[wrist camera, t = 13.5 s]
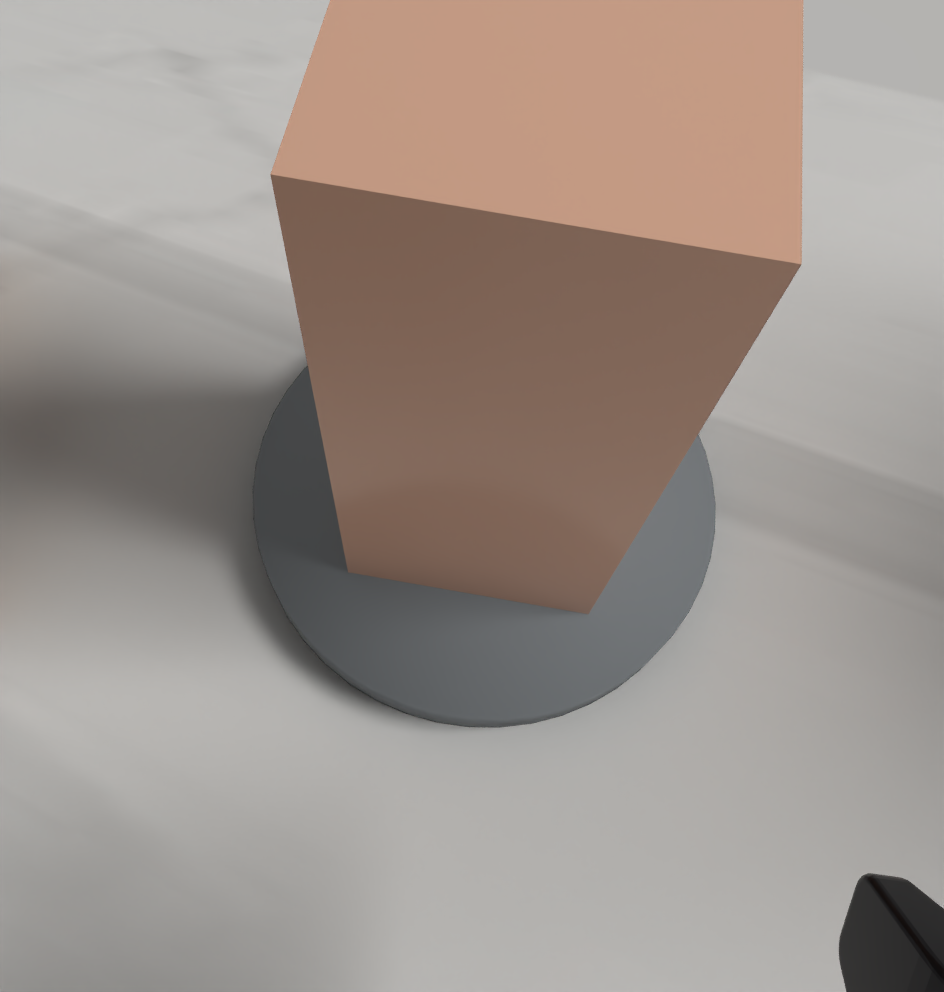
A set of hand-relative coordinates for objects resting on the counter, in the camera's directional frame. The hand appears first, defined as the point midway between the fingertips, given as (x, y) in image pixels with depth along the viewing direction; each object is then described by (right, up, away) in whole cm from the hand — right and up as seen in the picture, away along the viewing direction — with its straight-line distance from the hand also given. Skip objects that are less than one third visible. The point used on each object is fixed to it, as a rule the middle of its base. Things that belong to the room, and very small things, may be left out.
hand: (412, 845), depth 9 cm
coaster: (+1, +3, +11) cm, 12 cm away
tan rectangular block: (+1, +4, +10) cm, 11 cm away
